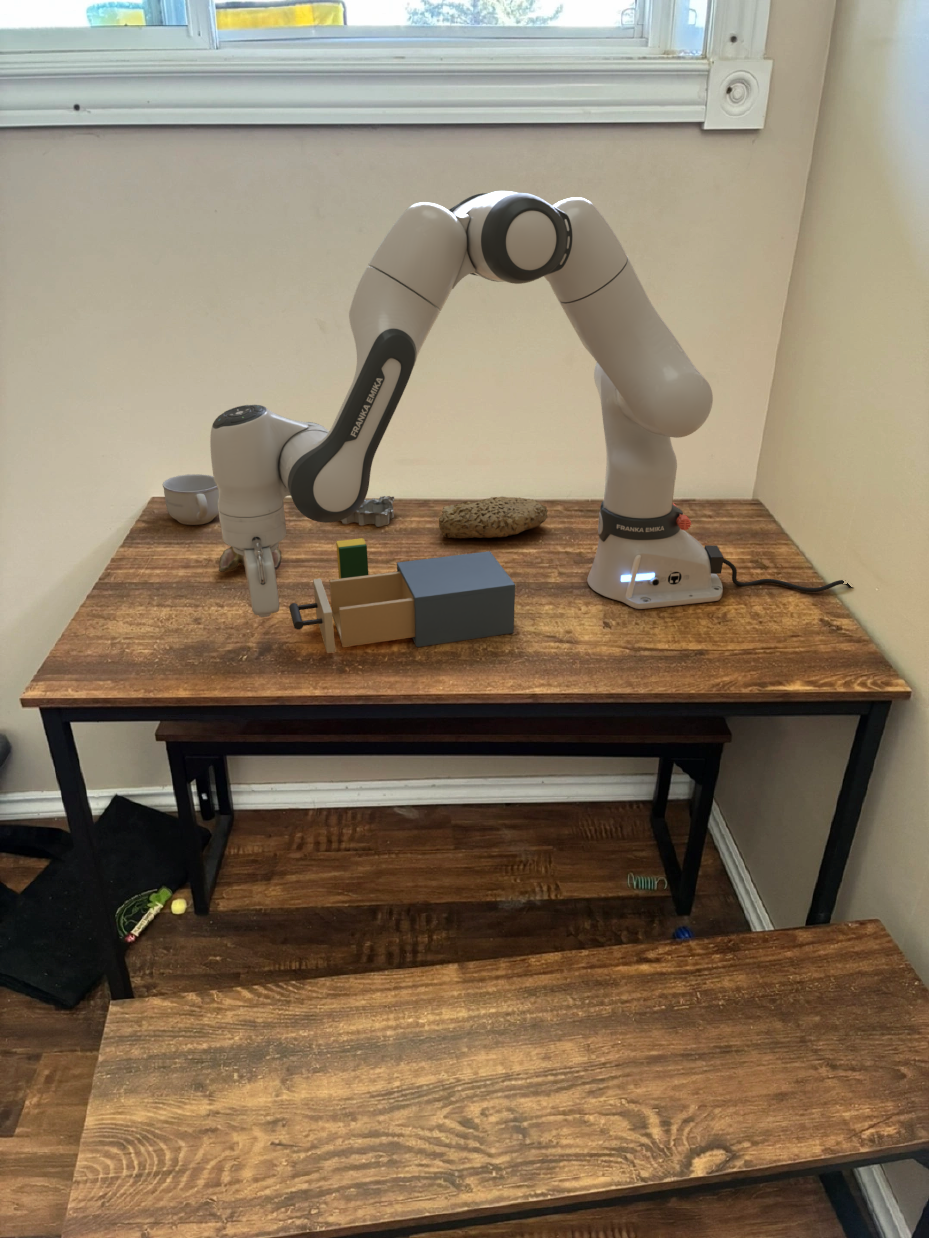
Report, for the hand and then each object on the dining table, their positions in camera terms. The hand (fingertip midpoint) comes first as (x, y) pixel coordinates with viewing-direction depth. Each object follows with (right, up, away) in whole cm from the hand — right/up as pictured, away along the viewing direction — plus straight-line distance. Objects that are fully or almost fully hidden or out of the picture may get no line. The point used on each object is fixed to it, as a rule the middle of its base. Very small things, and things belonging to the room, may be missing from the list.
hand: (264, 612), depth 129 cm
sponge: (+35, +15, +40) cm, 56 cm away
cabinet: (+28, -1, +10) cm, 30 cm away
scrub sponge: (+11, +3, +18) cm, 22 cm away
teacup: (-23, +18, +44) cm, 53 cm away
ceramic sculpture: (-8, +9, +28) cm, 30 cm away
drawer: (+13, -3, +6) cm, 14 cm away
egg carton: (+10, +19, +46) cm, 51 cm away
